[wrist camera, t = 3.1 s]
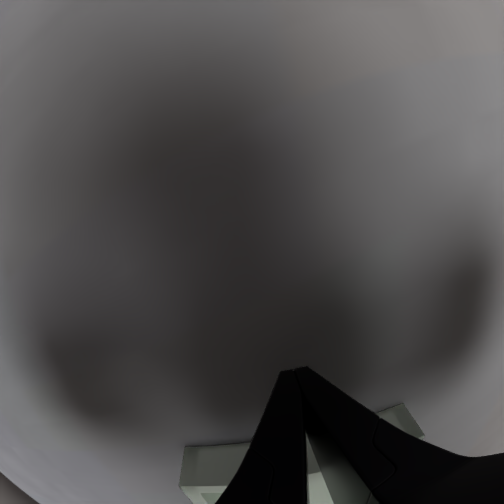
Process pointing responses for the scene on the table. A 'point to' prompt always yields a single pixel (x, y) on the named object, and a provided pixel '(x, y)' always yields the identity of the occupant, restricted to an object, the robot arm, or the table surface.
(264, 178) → the table surface
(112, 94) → the table surface
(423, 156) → the table surface
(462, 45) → the table surface
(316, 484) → the tray
